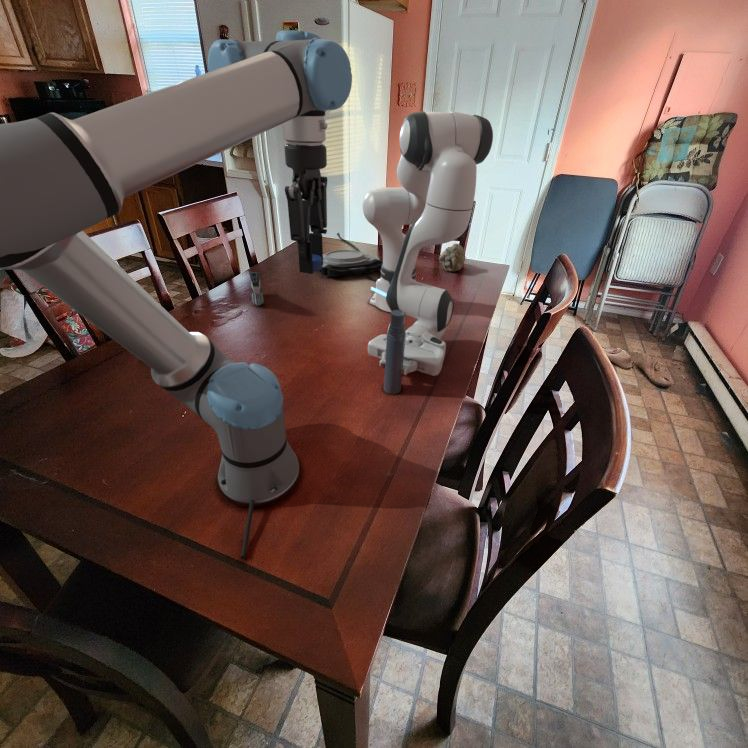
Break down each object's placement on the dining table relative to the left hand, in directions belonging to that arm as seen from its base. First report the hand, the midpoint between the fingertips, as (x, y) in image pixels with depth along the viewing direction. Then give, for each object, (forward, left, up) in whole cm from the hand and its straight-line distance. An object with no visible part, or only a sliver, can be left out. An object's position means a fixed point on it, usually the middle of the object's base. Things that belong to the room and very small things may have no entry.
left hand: (311, 268), depth 87 cm
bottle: (+3, -19, -32) cm, 37 cm away
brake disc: (+86, +11, -32) cm, 93 cm away
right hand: (+2, -19, -25) cm, 31 cm away
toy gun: (+43, +33, -32) cm, 63 cm away
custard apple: (+95, -34, -32) cm, 106 cm away
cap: (0, 0, +2) cm, 2 cm away
